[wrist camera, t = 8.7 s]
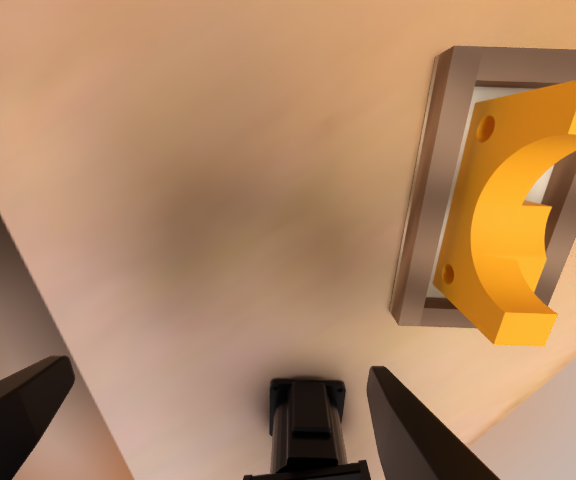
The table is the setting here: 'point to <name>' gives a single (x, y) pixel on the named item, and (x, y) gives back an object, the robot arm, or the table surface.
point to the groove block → (446, 163)
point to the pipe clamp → (505, 213)
